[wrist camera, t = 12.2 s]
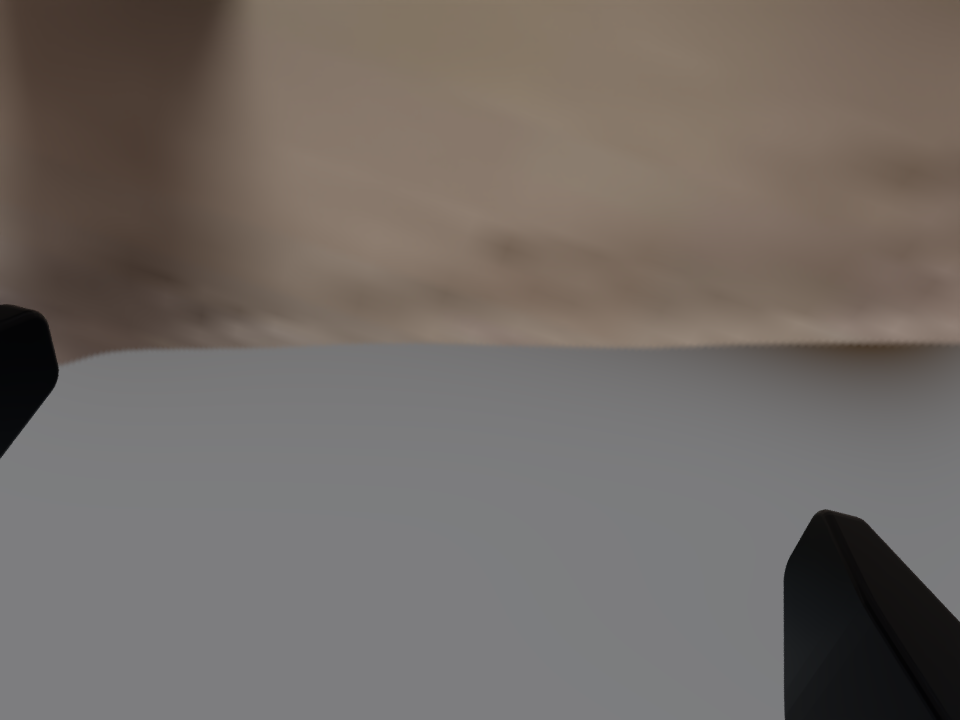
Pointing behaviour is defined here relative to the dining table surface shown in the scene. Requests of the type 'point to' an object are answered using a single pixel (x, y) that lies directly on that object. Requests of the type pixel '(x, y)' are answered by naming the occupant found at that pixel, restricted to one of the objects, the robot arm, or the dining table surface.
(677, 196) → the dining table surface
